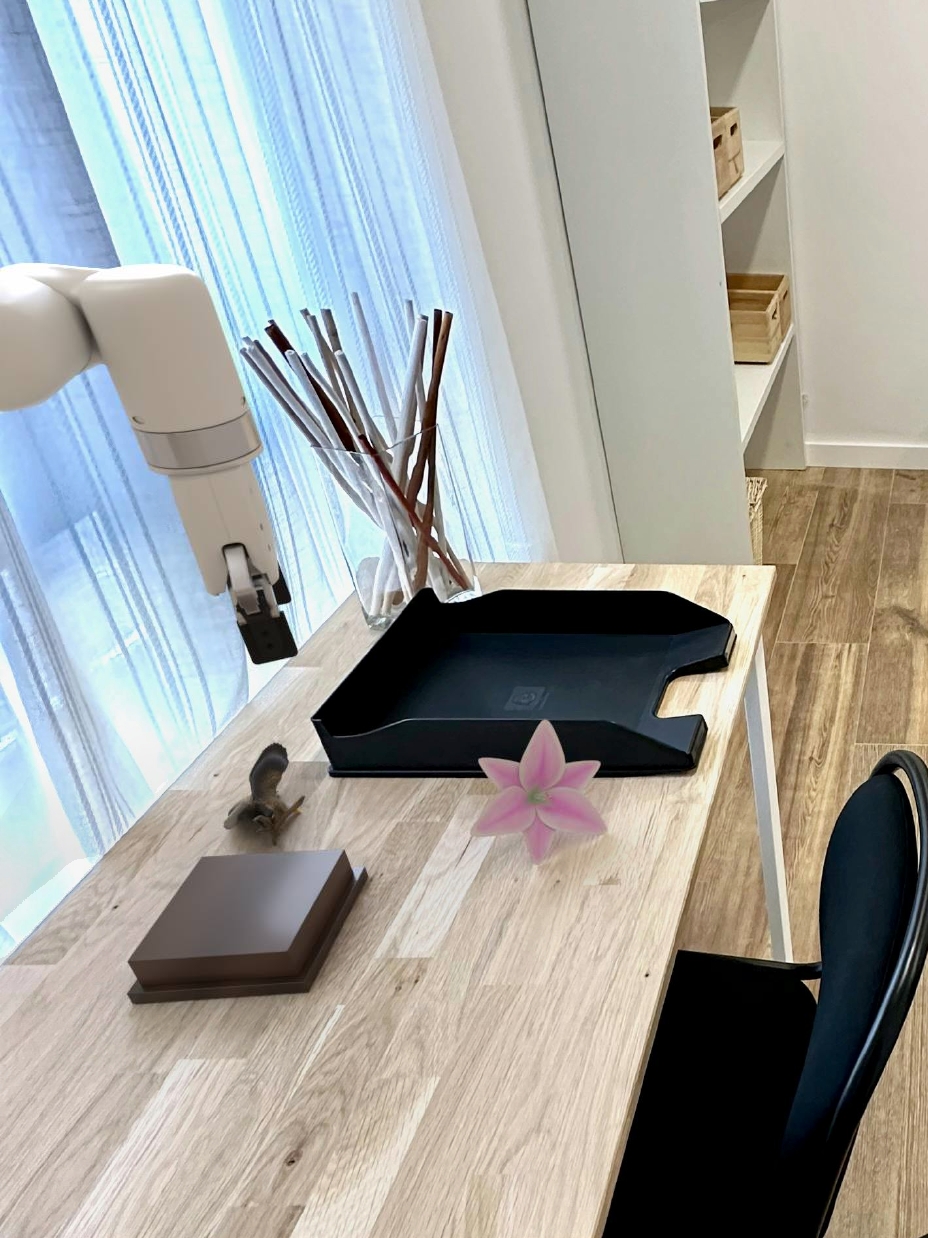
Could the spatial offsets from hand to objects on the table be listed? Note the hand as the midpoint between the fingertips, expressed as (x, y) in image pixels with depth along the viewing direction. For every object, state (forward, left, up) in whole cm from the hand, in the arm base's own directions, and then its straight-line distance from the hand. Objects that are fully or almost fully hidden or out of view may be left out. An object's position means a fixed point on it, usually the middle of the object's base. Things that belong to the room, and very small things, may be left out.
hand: (273, 631), depth 91 cm
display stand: (-2, -14, -22) cm, 26 cm away
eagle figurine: (-7, +1, -22) cm, 23 cm away
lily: (+19, -3, -22) cm, 29 cm away
